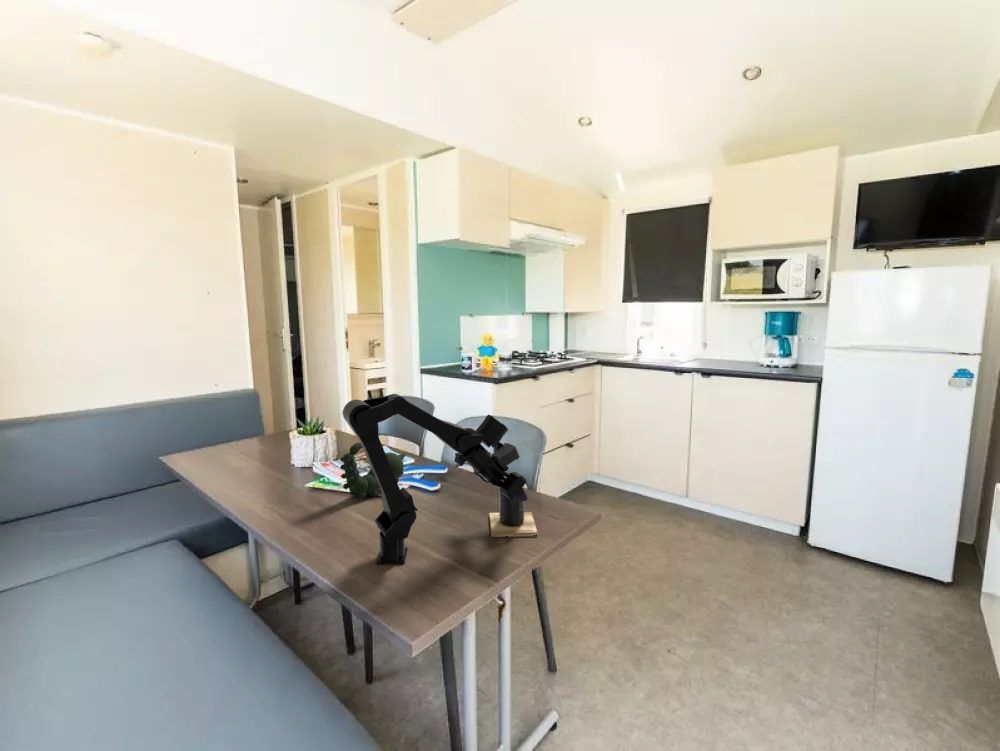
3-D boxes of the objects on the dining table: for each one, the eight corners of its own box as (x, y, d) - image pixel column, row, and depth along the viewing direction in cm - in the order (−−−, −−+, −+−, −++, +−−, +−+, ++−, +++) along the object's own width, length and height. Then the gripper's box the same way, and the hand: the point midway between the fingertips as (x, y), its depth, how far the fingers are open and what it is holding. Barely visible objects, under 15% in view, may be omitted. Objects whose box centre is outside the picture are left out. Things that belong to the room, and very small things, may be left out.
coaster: (537, 536, 123) (537, 532, 123) (491, 536, 123) (491, 532, 122) (531, 515, 135) (531, 511, 135) (489, 516, 134) (489, 512, 134)
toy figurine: (359, 512, 139) (417, 479, 159) (353, 452, 135) (413, 426, 155) (338, 504, 144) (397, 473, 164) (331, 446, 140) (392, 422, 160)
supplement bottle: (516, 514, 133) (517, 473, 132) (528, 524, 127) (529, 482, 125) (494, 518, 130) (495, 477, 128) (506, 529, 124) (507, 486, 122)
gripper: (520, 445, 115) (555, 481, 122) (483, 427, 131) (516, 459, 138) (492, 482, 112) (529, 516, 119) (458, 459, 128) (492, 490, 135)
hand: (516, 493), depth 128 cm, fingers open, 9 cm apart
